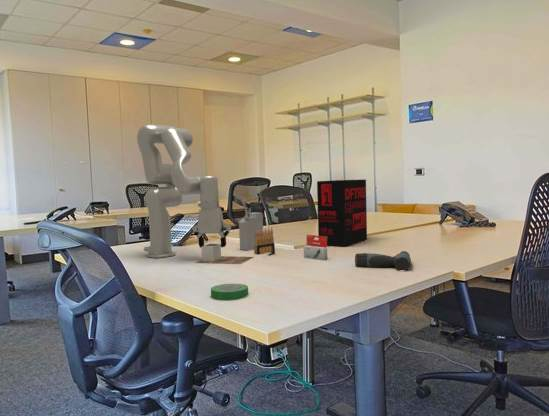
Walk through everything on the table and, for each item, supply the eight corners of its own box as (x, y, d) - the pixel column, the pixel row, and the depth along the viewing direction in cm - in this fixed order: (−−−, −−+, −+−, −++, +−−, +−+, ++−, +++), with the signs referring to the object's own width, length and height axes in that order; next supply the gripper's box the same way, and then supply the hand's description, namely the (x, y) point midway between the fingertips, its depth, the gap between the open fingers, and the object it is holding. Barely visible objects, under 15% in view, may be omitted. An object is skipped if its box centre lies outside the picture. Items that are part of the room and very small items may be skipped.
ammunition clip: (257, 257, 198) (256, 230, 197) (254, 256, 200) (253, 229, 199) (275, 254, 205) (274, 227, 204) (272, 253, 207) (271, 227, 206)
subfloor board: (194, 265, 183) (194, 262, 183) (211, 258, 198) (211, 255, 198) (240, 267, 177) (240, 263, 177) (254, 259, 192) (254, 256, 192)
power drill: (360, 260, 185) (412, 262, 178) (353, 269, 167) (410, 272, 161) (360, 247, 185) (412, 248, 178) (353, 255, 167) (410, 257, 160)
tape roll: (220, 290, 142) (219, 282, 142) (253, 292, 139) (253, 283, 139) (204, 300, 132) (204, 291, 131) (240, 302, 128) (240, 292, 128)
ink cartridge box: (324, 260, 186) (323, 236, 185) (303, 258, 193) (302, 235, 193) (328, 259, 188) (327, 236, 187) (307, 257, 195) (306, 234, 195)
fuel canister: (244, 251, 215) (242, 198, 213) (236, 250, 218) (234, 198, 216) (264, 246, 227) (262, 197, 225) (256, 246, 230) (254, 197, 228)
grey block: (202, 261, 186) (201, 246, 186) (210, 257, 194) (209, 243, 193) (213, 261, 185) (212, 246, 184) (221, 257, 192) (220, 243, 192)
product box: (342, 238, 248) (341, 180, 246) (367, 240, 240) (365, 179, 238) (318, 245, 226) (317, 181, 224) (344, 247, 218) (343, 180, 216)
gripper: (186, 207, 187) (189, 248, 187) (225, 205, 181) (228, 248, 182) (195, 206, 194) (197, 246, 195) (232, 204, 189) (235, 245, 189)
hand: (212, 247), depth 188 cm, fingers open, 9 cm apart
